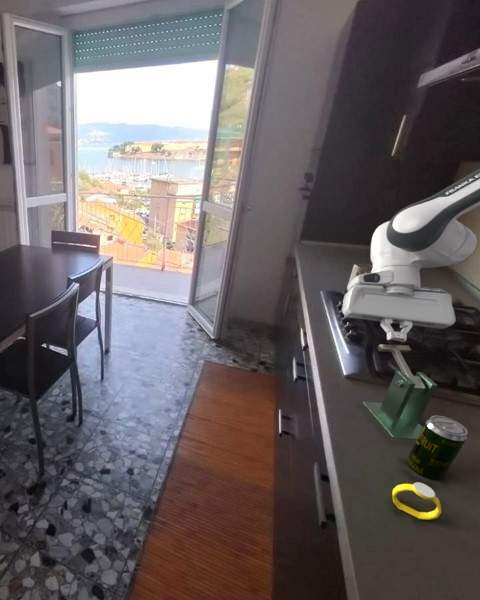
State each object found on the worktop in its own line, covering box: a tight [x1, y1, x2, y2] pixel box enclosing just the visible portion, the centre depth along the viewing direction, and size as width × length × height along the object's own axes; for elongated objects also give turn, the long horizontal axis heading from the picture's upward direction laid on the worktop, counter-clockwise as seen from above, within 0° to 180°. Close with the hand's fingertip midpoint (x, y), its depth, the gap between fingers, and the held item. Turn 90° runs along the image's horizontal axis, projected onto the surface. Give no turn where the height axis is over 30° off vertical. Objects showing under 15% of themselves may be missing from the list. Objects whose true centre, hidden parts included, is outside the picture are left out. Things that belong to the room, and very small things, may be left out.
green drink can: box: [406, 414, 469, 482], centre depth 66 cm, size 5×5×12 cm
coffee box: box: [342, 262, 373, 301], centre depth 127 cm, size 9×6×16 cm
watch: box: [392, 481, 442, 521], centre depth 61 cm, size 6×3×6 cm, turn 51°
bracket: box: [362, 370, 438, 440], centre depth 77 cm, size 11×8×13 cm
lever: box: [376, 343, 426, 393], centre depth 78 cm, size 11×6×2 cm, turn 173°
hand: (396, 340), depth 80 cm, fingers closed
